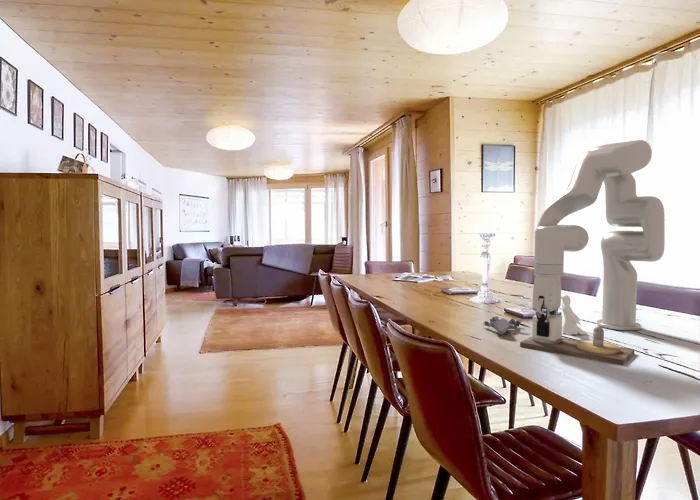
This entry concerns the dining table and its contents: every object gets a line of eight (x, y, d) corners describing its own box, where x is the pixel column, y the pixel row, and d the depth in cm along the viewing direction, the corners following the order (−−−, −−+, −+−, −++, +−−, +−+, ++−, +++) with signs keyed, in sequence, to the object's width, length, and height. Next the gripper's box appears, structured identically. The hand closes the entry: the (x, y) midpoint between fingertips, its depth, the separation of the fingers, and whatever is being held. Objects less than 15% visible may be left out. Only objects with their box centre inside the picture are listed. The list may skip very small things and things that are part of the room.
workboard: (537, 337, 135) (537, 312, 135) (634, 353, 118) (635, 324, 118) (520, 346, 126) (520, 319, 125) (622, 365, 109) (623, 333, 108)
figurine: (559, 329, 145) (560, 292, 144) (587, 332, 142) (588, 294, 141) (559, 335, 138) (560, 296, 138) (588, 338, 135) (589, 298, 134)
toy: (524, 322, 148) (524, 325, 134) (494, 339, 151) (492, 344, 137) (511, 304, 150) (510, 305, 136) (482, 322, 153) (479, 324, 139)
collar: (540, 333, 131) (540, 313, 131) (561, 337, 127) (562, 315, 127) (532, 337, 127) (532, 316, 126) (554, 341, 123) (555, 319, 122)
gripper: (545, 267, 135) (544, 326, 136) (522, 271, 122) (521, 337, 123) (572, 268, 130) (571, 330, 131) (551, 273, 117) (550, 342, 118)
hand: (547, 333), depth 127 cm, fingers closed on collar, 6 cm apart
